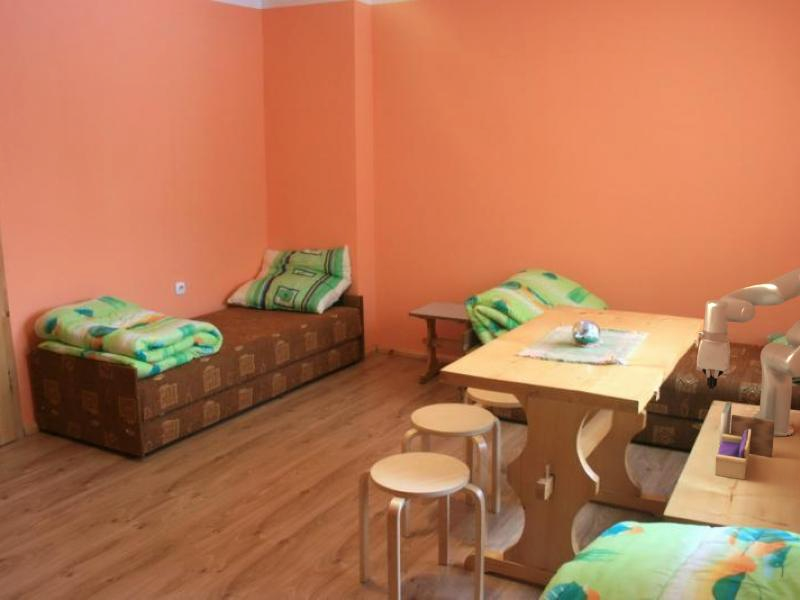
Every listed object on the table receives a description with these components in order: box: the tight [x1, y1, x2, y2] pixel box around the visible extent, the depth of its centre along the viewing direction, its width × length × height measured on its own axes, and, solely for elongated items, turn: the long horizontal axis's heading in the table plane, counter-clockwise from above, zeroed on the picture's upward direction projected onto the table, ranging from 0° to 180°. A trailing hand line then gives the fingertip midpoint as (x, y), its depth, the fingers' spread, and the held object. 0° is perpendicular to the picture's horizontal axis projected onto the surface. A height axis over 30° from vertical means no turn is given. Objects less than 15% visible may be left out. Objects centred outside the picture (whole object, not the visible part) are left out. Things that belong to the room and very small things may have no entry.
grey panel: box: [719, 401, 733, 446], centre depth 246 cm, size 2×15×11 cm, turn 150°
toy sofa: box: [714, 429, 751, 480], centre depth 224 cm, size 21×9×10 cm, turn 151°
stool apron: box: [730, 414, 775, 458], centre depth 233 cm, size 12×2×12 cm, turn 60°
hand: (711, 388), depth 248 cm, fingers closed
